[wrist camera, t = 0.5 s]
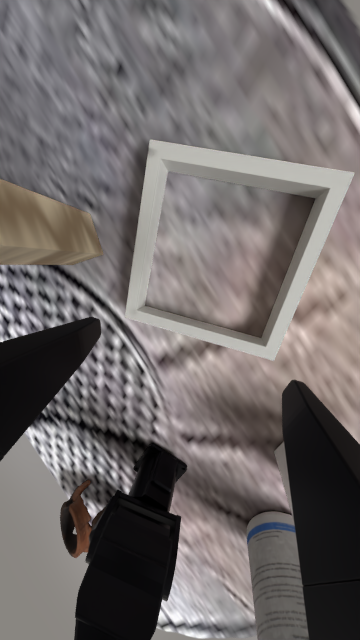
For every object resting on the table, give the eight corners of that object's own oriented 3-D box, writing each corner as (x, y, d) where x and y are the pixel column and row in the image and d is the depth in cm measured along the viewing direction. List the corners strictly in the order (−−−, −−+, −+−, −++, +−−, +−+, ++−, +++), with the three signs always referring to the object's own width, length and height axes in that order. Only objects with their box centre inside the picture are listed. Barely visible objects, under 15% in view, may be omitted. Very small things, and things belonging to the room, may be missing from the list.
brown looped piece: (108, 520, 38) (62, 561, 31) (98, 466, 40) (53, 494, 34) (146, 530, 31) (98, 584, 25) (131, 465, 34) (83, 498, 27)
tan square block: (103, 254, 23) (-34, 242, 11) (72, 264, 24) (-83, 264, 12) (90, 213, 22) (-78, 148, 10) (58, 226, 23) (-127, 183, 11)
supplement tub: (234, 530, 31) (245, 747, 17) (266, 497, 28) (312, 729, 14) (291, 562, 30) (352, 814, 16) (330, 531, 27) (447, 811, 13)
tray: (268, 350, 22) (273, 360, 20) (134, 312, 24) (124, 317, 22) (336, 185, 17) (354, 172, 14) (158, 155, 19) (149, 139, 17)
